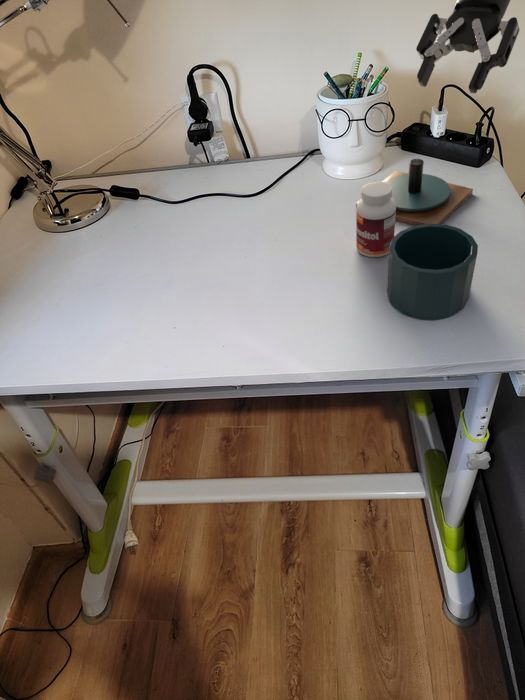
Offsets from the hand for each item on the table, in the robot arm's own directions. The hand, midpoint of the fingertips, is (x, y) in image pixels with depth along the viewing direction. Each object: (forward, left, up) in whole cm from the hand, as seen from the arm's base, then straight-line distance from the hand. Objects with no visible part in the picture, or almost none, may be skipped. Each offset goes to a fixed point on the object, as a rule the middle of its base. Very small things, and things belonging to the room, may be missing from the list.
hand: (446, 87), depth 80 cm
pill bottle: (+1, +19, -20) cm, 27 cm away
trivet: (+3, +3, -19) cm, 20 cm away
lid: (+3, +3, -18) cm, 18 cm away
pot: (-12, +25, -19) cm, 34 cm away
